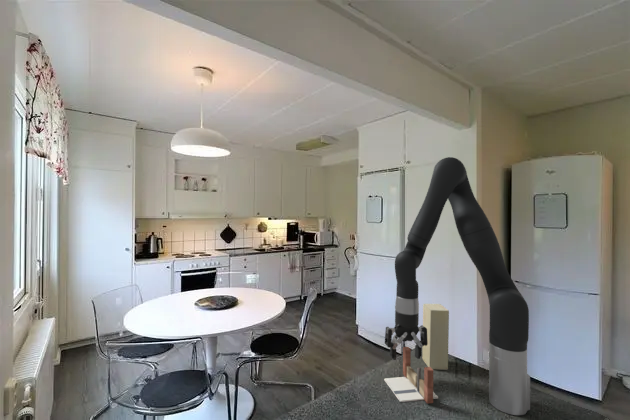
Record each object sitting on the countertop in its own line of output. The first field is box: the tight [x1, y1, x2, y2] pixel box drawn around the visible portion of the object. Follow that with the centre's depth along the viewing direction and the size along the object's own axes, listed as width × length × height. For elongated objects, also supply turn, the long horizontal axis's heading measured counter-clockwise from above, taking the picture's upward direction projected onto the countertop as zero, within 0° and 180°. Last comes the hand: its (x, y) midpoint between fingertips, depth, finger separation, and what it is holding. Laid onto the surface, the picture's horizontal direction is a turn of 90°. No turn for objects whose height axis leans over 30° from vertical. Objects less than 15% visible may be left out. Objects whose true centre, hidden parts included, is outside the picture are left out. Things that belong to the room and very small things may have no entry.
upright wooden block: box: [421, 303, 450, 371], centre depth 110 cm, size 8×7×21 cm
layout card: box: [383, 376, 439, 403], centre depth 94 cm, size 12×12×1 cm
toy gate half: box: [402, 346, 417, 387], centre depth 98 cm, size 8×2×9 cm, turn 10°
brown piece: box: [416, 366, 434, 405], centre depth 90 cm, size 2×7×10 cm, turn 10°
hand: (405, 358), depth 101 cm, fingers open, 8 cm apart
